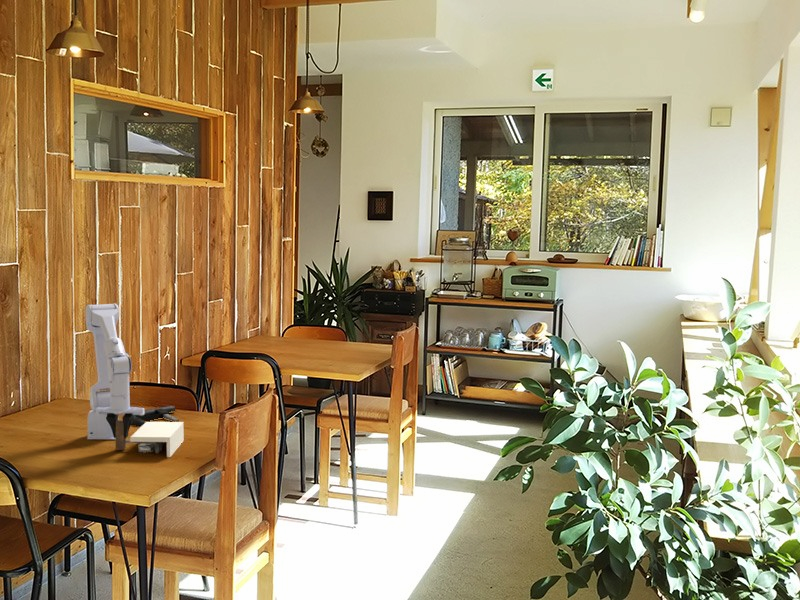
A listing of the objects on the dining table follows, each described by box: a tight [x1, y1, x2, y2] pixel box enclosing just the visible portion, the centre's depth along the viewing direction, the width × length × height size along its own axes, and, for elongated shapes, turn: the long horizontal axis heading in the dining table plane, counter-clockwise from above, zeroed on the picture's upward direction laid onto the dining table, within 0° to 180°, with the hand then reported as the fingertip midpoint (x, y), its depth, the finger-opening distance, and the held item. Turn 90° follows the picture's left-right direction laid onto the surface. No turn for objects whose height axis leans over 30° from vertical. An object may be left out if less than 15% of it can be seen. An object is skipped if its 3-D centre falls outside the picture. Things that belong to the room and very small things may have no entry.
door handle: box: [123, 405, 180, 427], centre depth 299 cm, size 3×20×16 cm
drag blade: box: [115, 419, 164, 454], centre depth 262 cm, size 14×6×9 cm, turn 91°
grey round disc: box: [138, 443, 155, 454], centre depth 263 cm, size 5×5×2 cm
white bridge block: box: [129, 421, 185, 458], centre depth 265 cm, size 12×18×6 cm, turn 1°
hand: (120, 437), depth 262 cm, fingers closed on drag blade, 2 cm apart
